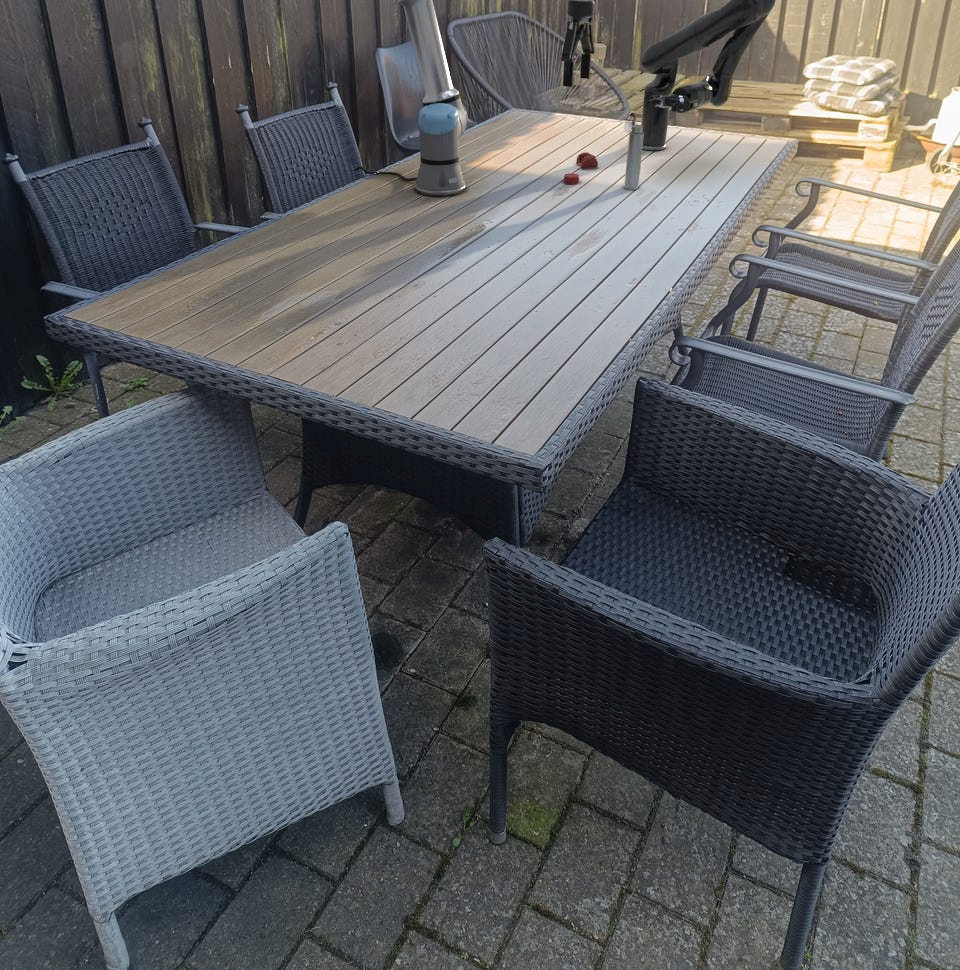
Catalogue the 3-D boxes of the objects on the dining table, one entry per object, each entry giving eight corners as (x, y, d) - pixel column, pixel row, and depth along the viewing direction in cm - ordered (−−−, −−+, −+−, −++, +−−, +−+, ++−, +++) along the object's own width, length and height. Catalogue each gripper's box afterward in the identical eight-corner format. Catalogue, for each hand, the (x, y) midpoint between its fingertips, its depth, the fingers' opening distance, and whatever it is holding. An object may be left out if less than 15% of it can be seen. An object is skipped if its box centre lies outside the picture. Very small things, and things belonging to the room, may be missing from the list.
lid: (576, 179, 267) (576, 172, 266) (580, 183, 264) (581, 177, 262) (561, 180, 267) (562, 173, 265) (566, 184, 263) (566, 177, 262)
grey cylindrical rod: (624, 189, 258) (631, 127, 248) (623, 185, 262) (629, 124, 251) (638, 189, 258) (645, 127, 248) (637, 185, 262) (643, 124, 251)
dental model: (591, 148, 281) (599, 155, 275) (590, 161, 283) (599, 168, 277) (575, 150, 280) (583, 157, 274) (574, 163, 282) (582, 170, 276)
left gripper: (577, 5, 226) (572, 91, 238) (609, -5, 244) (603, 76, 256) (551, 3, 228) (548, 88, 241) (585, -6, 246) (580, 74, 259)
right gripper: (669, 82, 266) (641, 89, 256) (710, 87, 258) (682, 95, 248) (667, 107, 270) (639, 116, 260) (706, 113, 262) (679, 122, 253)
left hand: (576, 82), depth 248 cm, fingers open, 13 cm apart
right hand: (660, 106), depth 254 cm, fingers open, 8 cm apart
